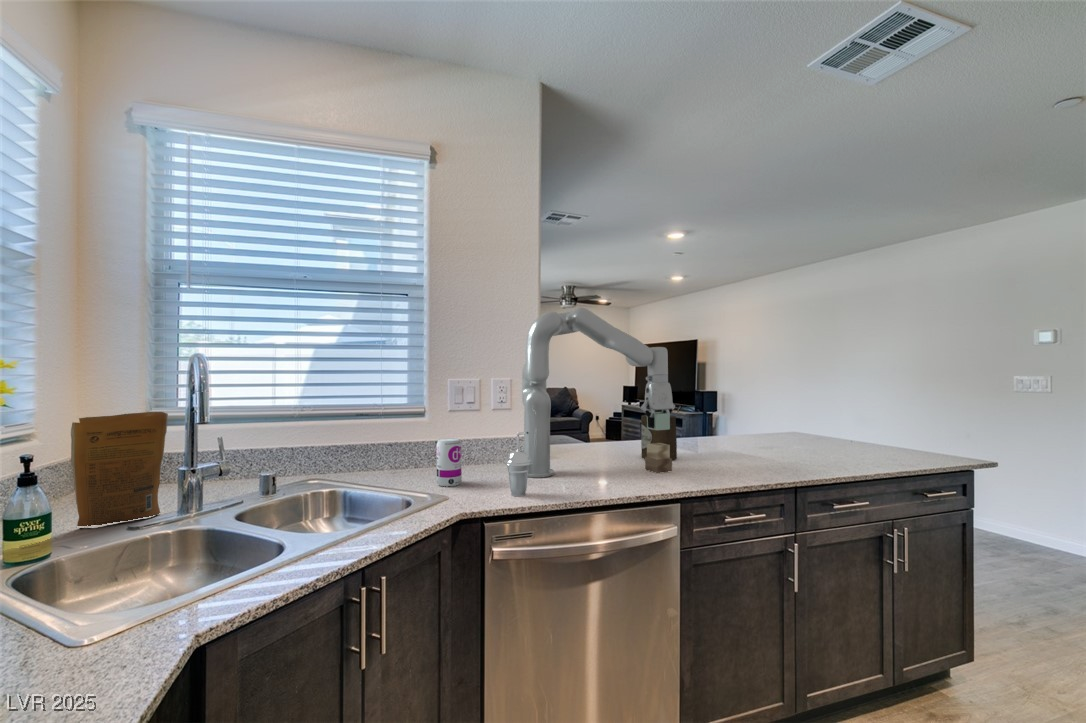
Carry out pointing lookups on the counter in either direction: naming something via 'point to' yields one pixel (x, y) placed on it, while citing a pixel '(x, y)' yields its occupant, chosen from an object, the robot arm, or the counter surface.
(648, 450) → the oak upper block
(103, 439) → the pancake mix bag
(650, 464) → the walnut base block
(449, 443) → the supplement can
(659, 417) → the sage cube
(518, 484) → the cup with straw
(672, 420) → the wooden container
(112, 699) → the counter surface
